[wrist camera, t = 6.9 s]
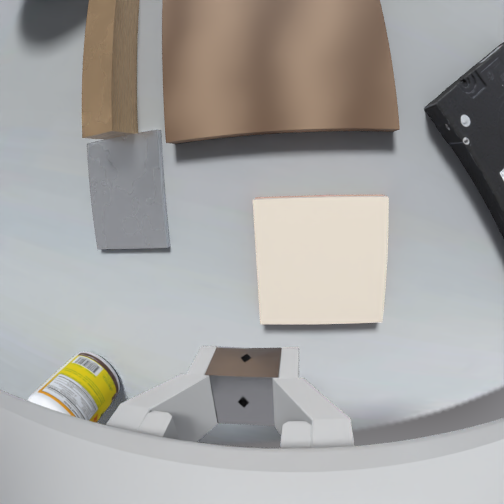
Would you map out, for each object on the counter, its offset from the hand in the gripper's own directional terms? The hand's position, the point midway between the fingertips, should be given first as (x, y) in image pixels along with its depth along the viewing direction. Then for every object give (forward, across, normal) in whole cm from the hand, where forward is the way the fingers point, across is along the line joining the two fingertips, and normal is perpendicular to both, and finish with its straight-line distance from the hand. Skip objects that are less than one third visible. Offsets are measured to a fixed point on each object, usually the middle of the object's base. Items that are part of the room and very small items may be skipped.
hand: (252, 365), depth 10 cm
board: (+12, -1, -19) cm, 22 cm away
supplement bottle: (+13, +17, +11) cm, 24 cm away
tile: (+12, +1, 0) cm, 12 cm away
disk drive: (+12, -18, -7) cm, 23 cm away
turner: (+12, +10, -11) cm, 20 cm away
